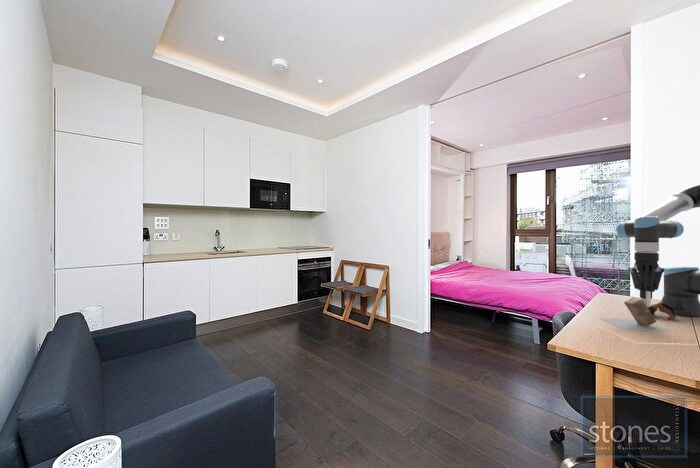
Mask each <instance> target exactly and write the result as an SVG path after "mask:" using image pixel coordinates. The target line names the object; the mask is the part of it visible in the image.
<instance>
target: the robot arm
mask: <svg viewBox="0 0 700 468" xmlns="http://www.w3.org/2000/svg"><path fill="white" fill-rule="evenodd" d="M695 208H700V183H697V184H693V185H691V186H688V187H686V188H683V189H681V190H679V191H676V193H674V194H672V195H671V196H669V197H668V199H667V200H666V201H664V202H662V203H660V204H659V205H657V206H655V207H654V208H653V207H652V208H651V209H650V210H648V211H647V212H644V213H643V214H641V215H640V216H637V217H635V218H634V219H632V220H630V221H621V222H619V223H618V224H617V225H616V229H615V232H616V234H617V235H618V236H619V237H624V238H634V254H633V255H634V258H633V260H634V261H635V262H634V263H633V264H634V266H631V267H630V266H629V267H628V269H627V270H628V271H629V273H630V275H631V281H632V283H633V287H634V289H636V290H638V291H639V299H641V300H643V302H644V303H645V305H646V306H647V307H651V305H652V303H651V299H653V293H655V291H658V290H659V286H660V283H661V280H662V276H663V295H662V299H661V300H660V303H664V304H666V305H669V306H670V307H672V308H674V309H675V310H676V311H677V314H676V316H677V315H678V316H686V317H700V300H699V296H700V268H699V267H698V266H668V267H664V268H663V267H661V266H659V264H658V262H659V260H660V254H659V252H660V239H673V238H674V239H675V238H678V237H680V236H682V235H683V233H684V230H685V229H684V228H685V227H684V226H683V224H682V223H681V222H680V221H677V220H676V221H675V220H669V219H671V218H673V217H676V215H679V214H680V213H682V212H688V211H689V210H691V209H695ZM666 309H668V308H666ZM671 314H672V313H671Z"/></svg>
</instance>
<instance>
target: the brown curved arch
mask: <svg viewBox="0 0 700 468" xmlns="http://www.w3.org/2000/svg"><path fill="white" fill-rule="evenodd" d="M647 308H648V309H649V311H650V312H651V314H652V315H653V316H654V315H655V313H656V312H657V311H658V310H659V311H660V312H662V313H665V314H666V315H669V316H668V318H667V320H668V321H669V320H671V321H672V320H674V319H675V320H676V317H677V311H676V310H675V309H674V308H672V307H670V306H669V305H666V304H664V303H661V301H660V302H657V303H655V304H651V307H647ZM666 308H668V309H666ZM671 313H672V314H671Z"/></svg>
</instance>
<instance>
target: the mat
mask: <svg viewBox="0 0 700 468" xmlns="http://www.w3.org/2000/svg"><path fill="white" fill-rule="evenodd" d="M597 319H599V320H601V321H603V322H605V323H608V324H610V325H612V326H615V327H617V328H620V329H622V330H624V331H645V332H646V331H647V332H649V331H650V332H651V331H654V332H673V330H671V329H669V328H667V327H663V326H661V325H657V324H655V323H653V324H651V325H649V326H647V327H646V326H643V325H640V324H638V323H637V322H636V320H635V319H634V318H602V317H601V318H597Z"/></svg>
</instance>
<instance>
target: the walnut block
mask: <svg viewBox="0 0 700 468" xmlns="http://www.w3.org/2000/svg"><path fill="white" fill-rule="evenodd" d="M623 303H624V305H625V306H626V308H627V309H628V311H629V312H630V314H631V315H632V317H633V319H635V320H636V322H637V323H638V324H640V325H643V326H646V327H647V326H649V325H651V324H655V323H657V320H656V318H655V317H654V315H652V314H651V312H650V311H649V309H648V308H647V306H646V305H645V303H644V302H643V300H641V298H639V297H638V298H637V297H632V298H630V299H628V300H626V301H624V302H623Z"/></svg>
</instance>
